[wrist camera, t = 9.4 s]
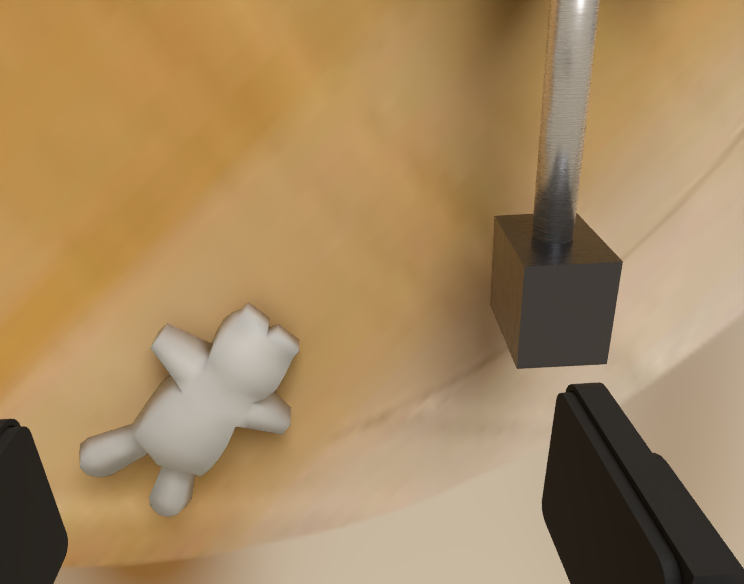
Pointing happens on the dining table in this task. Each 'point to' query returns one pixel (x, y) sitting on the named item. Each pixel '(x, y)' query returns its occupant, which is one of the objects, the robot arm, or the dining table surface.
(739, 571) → the robot arm
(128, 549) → the dining table surface
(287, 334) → the light grey rounded piece
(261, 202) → the dining table surface
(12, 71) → the dining table surface
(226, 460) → the dining table surface
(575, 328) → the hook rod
